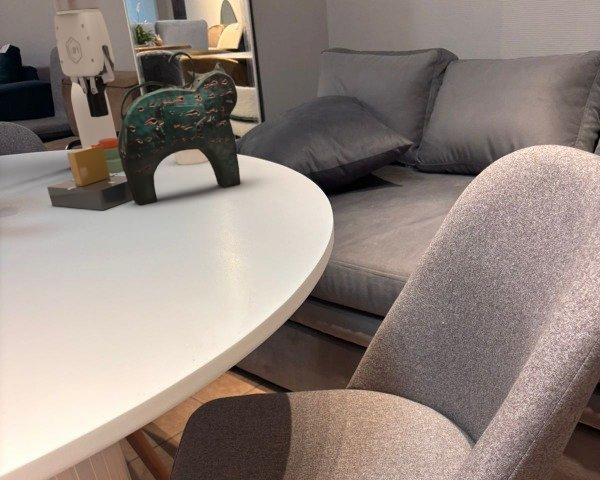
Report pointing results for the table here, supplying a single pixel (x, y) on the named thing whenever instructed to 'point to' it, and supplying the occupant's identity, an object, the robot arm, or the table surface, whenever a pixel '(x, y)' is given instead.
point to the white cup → (190, 157)
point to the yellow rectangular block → (88, 165)
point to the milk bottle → (90, 119)
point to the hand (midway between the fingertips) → (100, 115)
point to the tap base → (91, 193)
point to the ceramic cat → (179, 129)
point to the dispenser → (113, 160)
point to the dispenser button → (109, 143)
